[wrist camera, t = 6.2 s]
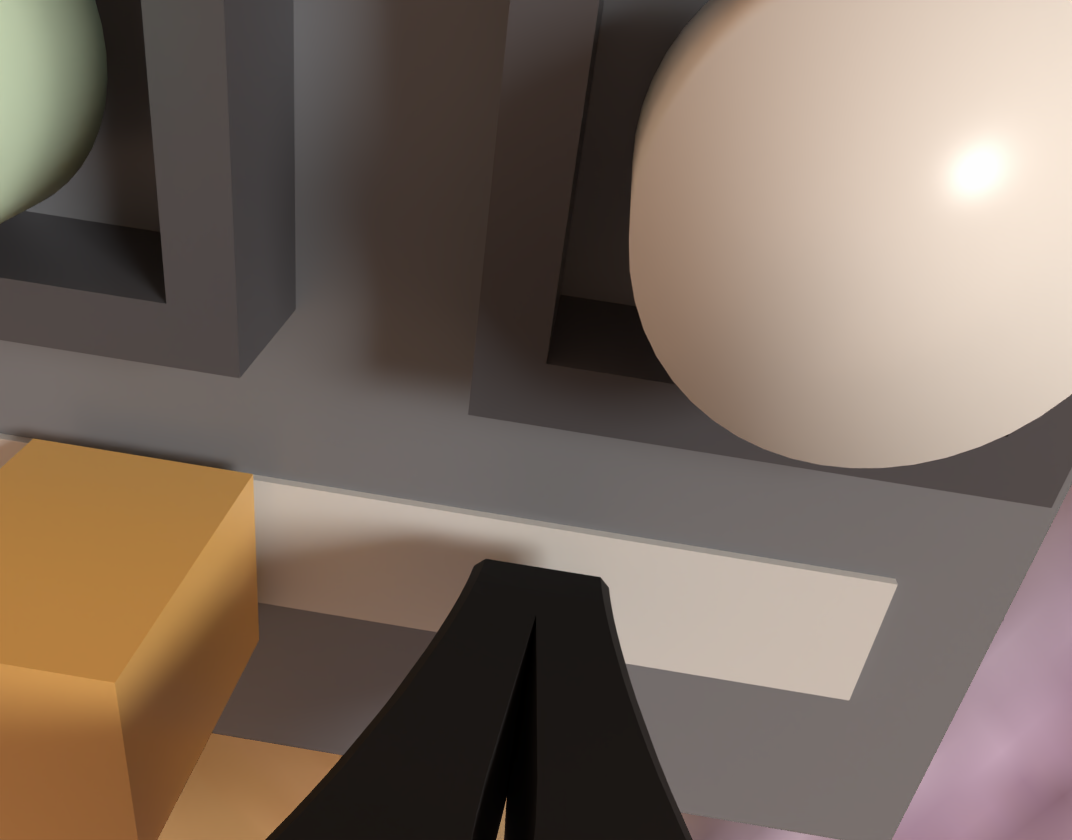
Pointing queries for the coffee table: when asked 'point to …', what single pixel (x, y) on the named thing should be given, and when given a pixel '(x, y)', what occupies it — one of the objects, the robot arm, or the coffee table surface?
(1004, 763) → the coffee table surface
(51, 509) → the slider knob
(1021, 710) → the coffee table surface
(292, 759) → the coffee table surface
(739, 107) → the white button
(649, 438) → the control panel
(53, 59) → the green button
